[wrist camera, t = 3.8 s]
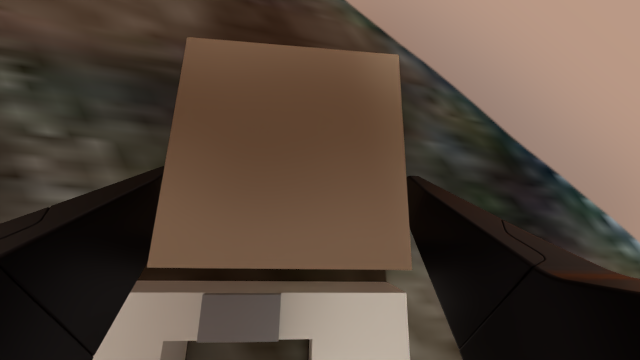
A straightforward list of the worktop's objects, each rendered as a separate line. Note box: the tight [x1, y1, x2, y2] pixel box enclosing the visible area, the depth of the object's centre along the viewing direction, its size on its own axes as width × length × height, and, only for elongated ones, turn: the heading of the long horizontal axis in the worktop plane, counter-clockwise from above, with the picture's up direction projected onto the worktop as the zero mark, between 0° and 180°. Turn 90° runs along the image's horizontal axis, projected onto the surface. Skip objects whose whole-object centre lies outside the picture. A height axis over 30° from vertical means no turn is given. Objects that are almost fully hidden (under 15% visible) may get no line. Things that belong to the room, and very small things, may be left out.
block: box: [147, 37, 412, 270], centre depth 11 cm, size 4×4×12 cm
